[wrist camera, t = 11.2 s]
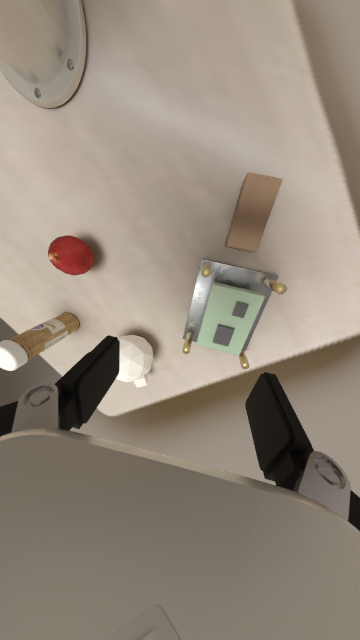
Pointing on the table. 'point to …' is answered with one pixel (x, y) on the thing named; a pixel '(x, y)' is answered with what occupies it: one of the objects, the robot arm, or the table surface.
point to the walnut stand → (252, 211)
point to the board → (228, 318)
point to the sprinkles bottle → (35, 341)
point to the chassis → (231, 277)
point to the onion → (71, 255)
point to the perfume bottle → (134, 359)
